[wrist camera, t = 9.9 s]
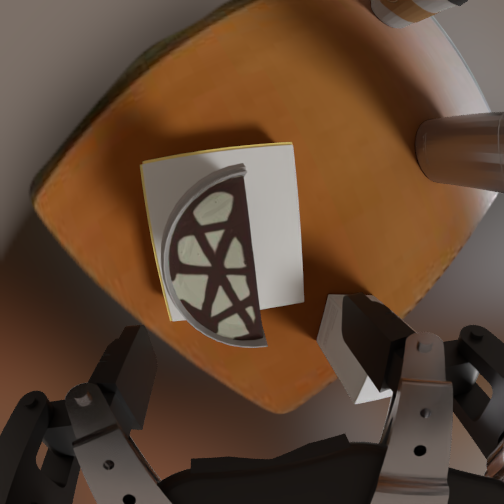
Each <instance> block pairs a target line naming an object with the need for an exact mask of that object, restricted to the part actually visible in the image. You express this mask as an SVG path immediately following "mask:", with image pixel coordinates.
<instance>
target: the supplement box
mask: <svg viewBox="0 0 504 504" xmlns="http://www.w3.org/2000/svg"><path fill="white" fill-rule="evenodd" d="M344 296H345V295H335V294H329V295H328V298H327V302H326V306H325V310H324V314H323V318H322V321H321V325H320V329H319V333H318V336H317V343H318V345H319V346H320V348H321V350H322V351H323V353H324V355H325V356H326V358H327V360H328V361H329V363H330V365H331V366H332V368H333V370H334V371H335V373H336V375H337V376H338V378H339V379H340V381H341V383H342V384H343V386H344V388H345V390H346V391H347V393H348V395H349V396H350V398H351V400H352V401H353V403H354V404H358V403H363V402H368V401H373V400H378V399H382V398H386V397H390V396H392V393H393V392H392V390H391V389H389V390H386V391H384V392H381V393H379V391H378V390H377V388H376V387H375V385H374V384H373V382H372V381H371V379H370V378H369V377H368V375H367V374H366V372H365V371H364V369H363V368H362V366H361V365H360V364H359V362H358V361H357V359H356V358H355V356H354V355H353V353H352V352H351V351H350V349H349V348H348V346H347V345H346V343H345V342H344V340H343V337H342V331H341V326H342V302H343V297H344ZM366 296H367V297H368V298H369V299H370V300H371V301H376V302H379V303H381V304H383V303H382V302H381V301H379V300H378V299H377V298H376V297H375V296H373V295H366ZM383 305H384V304H383ZM392 313H394V312H392ZM394 314H395V313H394ZM398 318H400V317H398ZM400 319H401V318H400ZM401 320H402V319H401ZM402 321H403V320H402ZM403 322H404V321H403ZM406 324H407V323H406ZM407 325H408V324H407ZM408 326H409V325H408ZM409 327H410V326H409ZM410 328H411V327H410ZM411 329H412V328H411ZM412 330H413V331H415V330H414V329H412ZM415 332H416V331H415ZM416 333H417V332H416Z"/></svg>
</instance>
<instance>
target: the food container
mask: <svg viewBox="0 0 504 504" xmlns="http://www.w3.org/2000/svg"><path fill="white" fill-rule="evenodd" d="M246 173H247V171H246V167H245V165H244V164H243V163H240V164H236V165H231V166H227V167H225V168H222V169H219V170H217V171H214V172H212V173H210V174H209V175H207V176H205V177H204V178H202V179H200V180H199V181H198V182H196V183H195V184H194V185H193V186H192V187H191V188H189V189H188V190H187V191H186V192H185V194H184V195H183V196H182V197H181V198H180V199H179V201H178V202H177V203H176V205H175V207H174V208H173V210H172V212H171V213H170V215H169V218H168V220H167V223H166V225H165V228H164V232H163V237H162V242H161V268H162V275H163V280H164V283H165V286H166V289H167V292H168V294H169V296H170V298H171V300H172V302H173V304H174V305H175V307H176V308H177V309H178V311H179V312H180V313H181V315H182V316H183V317H184V318H185V319H186V320H187V321H188V322H189V323H190V324H191V325H192V326H193V327H194V328H195V329H197V330H198V331H200V332H201V333H203V334H204V335H206V336H208V337H210V338H212V339H214V340H216V341H218V342H221V343H224V344H228V345H232V346H238V347H247V348H258V347H268V345H267V341H266V338H265V334H264V330H263V327H262V322H261V314H260V305H259V297H258V289H257V280H256V271H255V262H254V255H253V247H252V239H251V230H250V221H249V213H248V205H247V197H246V189H245V182H244V176H245V175H246Z"/></svg>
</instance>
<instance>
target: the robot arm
mask: <svg viewBox="0 0 504 504" xmlns="http://www.w3.org/2000/svg"><path fill="white" fill-rule="evenodd" d="M415 148H416V155H417V159H418V162H419V165H420V167H421V169H422V171H423V172H424V174H425V175H426V176H427V177H428V178H429V179H430V180H432V181H433V182H437V183H443V184H451V185H457V186H464V187H470V188H477V189H483V190H488V191H494V192H499V193H504V112H491V113H479V114H469V115H460V116H452V117H444V118H437V119H431V120H427V121H425V122H423V123H422V124H421V125H420V127H419V129H418V131H417V135H416V141H415ZM341 331H342V337H343V340H344V342H345V343H346V345H347V346H348V348H349V349H350V351H351V352H352V353H353V355H354V356H355V358H356V359H357V361H358V362H359V364H360V365H361V366H362V368H363V369H364V371H365V372H366V374H367V375H368V377H369V378H370V379H371V381H372V382H373V384H374V385H375V387H376V388H377V390H378V391H379V393H381V392H384V391H386V390H389V389H391V390H392V392H393V393H392V397H391V401H390V405H389V410H388V413H387V417H386V421H385V425H384V429H383V432H382V436H381V439H380V441H379V444H377V443H371V442H370V443H369V442H349V441H348V439H347V437H346V435H345V434H342V435H339V436H335V437H331V438H328V439H325V440H321V441H317V442H313V443H309V444H307V445H305V446H302V447H300V448H298V449H296V450H293V451H291V452H288V453H286V454H284V455H282V456H279V457H276V458H273V459H249V458H238V457H217V458H198V459H191V469H187V470H184V471H181V472H178V473H175V474H173V475H171V476H169V477H167V478H165V479H163V480H161V479H160V478H159V477H158V475H157V474H156V473H155V472H154V470H153V469H152V468H151V466H150V465H149V464H148V462H147V461H146V459H145V458H144V456H143V455H142V454H141V452H140V450H139V449H138V447H137V446H136V445H135V443H134V442H133V440H132V438H131V437H130V436H129V435H130V431H131V429H137V430H142V429H143V424H144V420H145V416H146V411H147V407H148V403H149V399H150V395H151V391H152V387H153V384H154V379H155V376H156V372H157V359H156V355H155V353H154V350H153V347H152V344H151V341H150V338H149V336H148V332H147V330H146V328H145V326H144V325H137V326H126V327H125V328H124V330H123V332H122V334H121V335H120V337H119V339H115V340H114V341H113V342H112V343H111V344H109V345H108V346H107V348H106V350H105V352H104V354H103V356H102V357H101V359H100V362H99V363H98V364H97V366H96V368H95V370H94V372H93V374H92V376H91V377H90V379H89V381H88V383H83V384H79V385H77V386H75V387H73V388H72V389H71V390H70V391H69V392H68V393H67V395H66V397H65V400H60V401H53V402H50V401H49V400H48V399H47V397H46V395H45V394H44V393H43V392H41V391H32V392H29V393H27V394H26V395H24V396H23V397H22V398H21V399H20V401H19V402H18V404H17V406H16V407H15V409H14V411H13V413H12V414H11V416H10V418H9V420H8V422H7V424H6V426H5V427H4V429H3V431H2V433H1V435H0V504H72V503H73V498H74V493H75V488H76V484H77V479H78V475H79V471H80V467H81V470H82V472H83V475H84V477H85V479H86V481H87V484H88V486H89V488H90V490H91V492H92V494H93V496H94V498H95V500H96V502H97V504H504V343H503V342H502V341H500V340H499V339H498V338H497V337H496V336H494V335H493V334H492V333H491V332H489V331H488V330H487V329H485V328H483V327H481V326H476V325H469V326H466V327H464V328H463V329H462V330H461V332H460V335H459V338H458V340H453V341H446V342H443V341H442V340H441V339H440V338H439V337H438V336H436V335H435V334H432V333H428V332H417V333H416V332H415V331H413V330H412V329H411V328H410V327H409V326H408V325H407V324H406V323H405V322H403V321H402V320H401V319H400V318H398V316H397V315H396V314H394V313H392V311H391V310H390V309H389V308H388V307H386V306H385V305H383V304H381V303H379V302H376V301H371V300H370V299H369V298H368V297H367V296H366V295H365V294H364V293H362V292H359V293H355V294H350V295H345V296H344V297H343V302H342V326H341ZM479 373H480V374H481V375H482V376H483V377H484V378H485V379H486V380H487V381H488V382H489V383H490V385H491V386H492V389H493V395H492V398H491V399H490V398H489V397H488V396H487V394H486V393H485V392H484V391H483V390H482V389H481V388H480V387H479V386H478V384H477V383H476V382H475V381H476V379H477V377H478V375H479ZM453 412H454V414H455V415H456V416H457V417H458V419H459V420H460V422H461V423H462V424H463V426H464V427H465V429H466V430H467V431H468V433H469V434H470V436H471V437H472V439H473V440H474V441H475V443H476V444H477V446H478V447H479V449H480V450H481V452H482V453H483V455H484V456H485V458H486V459H487V464H486V467H487V470H486V472H485V474H484V476H481V475H476V474H472V473H468V472H464V471H459V470H456V469H453V468H449V460H450V451H451V440H452V422H453ZM41 442H43V443H44V444H45V445H46V446H47V447H48V451H47V453H46V456H45V459H44V462H43V465H42V468H41V470H40V469H39V468H38V466H37V464H36V455H37V452H38V450H39V447H40V445H41Z"/></svg>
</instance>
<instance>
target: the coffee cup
mask: <svg viewBox="0 0 504 504" xmlns="http://www.w3.org/2000/svg"><path fill="white" fill-rule="evenodd" d="M467 1H468V0H371V8H372V10H373V12H374V13H375V15H376V16H377V17H378V18H379V19H380V20H381V21H382V22H383V23H385V24H387V25H388V26H390V27H393V28H404V27H406V26H408V25H410V24H413V23H415V22H418V21H421V20H423V19H425V18H428V17H430V16H432V15H435V14H437V13H439V12H440V11H443V10H445V9H448V8H451V7H453V6H456V5H458V6H461V5H462V4H463V3H465V2H467Z"/></svg>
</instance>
